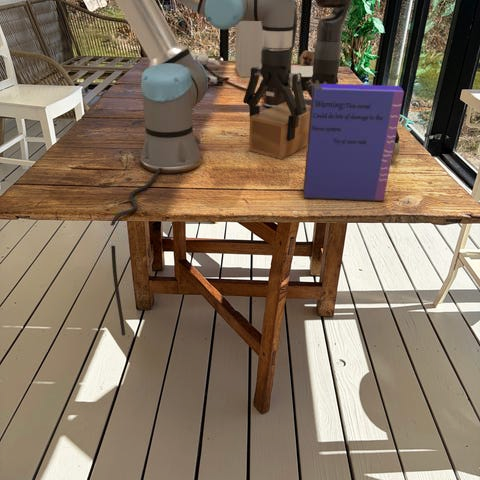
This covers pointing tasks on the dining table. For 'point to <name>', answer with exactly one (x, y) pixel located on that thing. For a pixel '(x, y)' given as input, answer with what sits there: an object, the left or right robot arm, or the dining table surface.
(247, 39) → the tall white box
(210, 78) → the figurine
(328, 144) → the purple hardcover book
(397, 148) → the figurine character
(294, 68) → the disc drive
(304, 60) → the anatomical model
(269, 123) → the brown rectangular block
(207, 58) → the toy
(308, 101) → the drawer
